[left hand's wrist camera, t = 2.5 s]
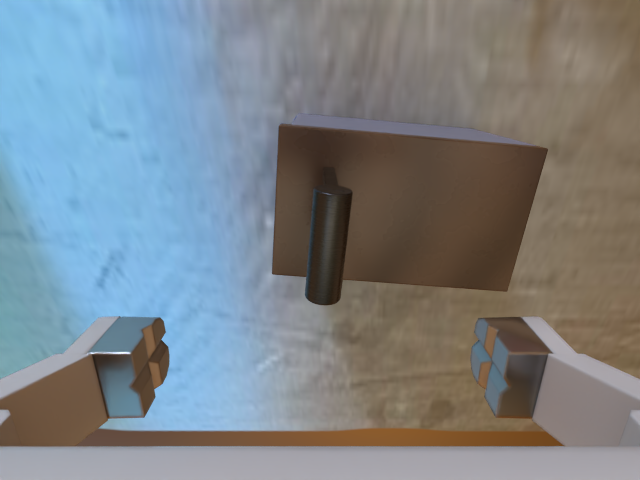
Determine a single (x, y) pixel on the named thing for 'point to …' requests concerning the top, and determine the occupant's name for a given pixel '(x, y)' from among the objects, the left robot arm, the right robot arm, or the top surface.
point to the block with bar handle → (399, 209)
